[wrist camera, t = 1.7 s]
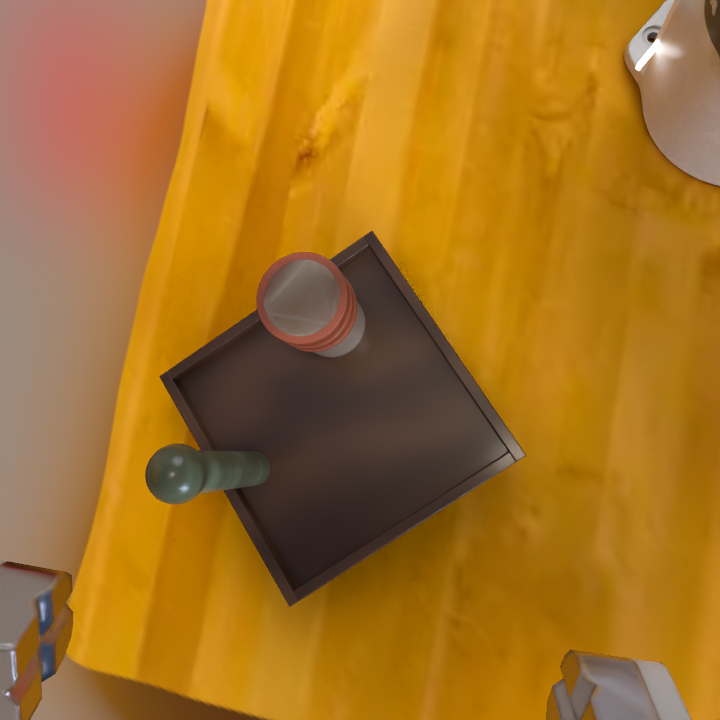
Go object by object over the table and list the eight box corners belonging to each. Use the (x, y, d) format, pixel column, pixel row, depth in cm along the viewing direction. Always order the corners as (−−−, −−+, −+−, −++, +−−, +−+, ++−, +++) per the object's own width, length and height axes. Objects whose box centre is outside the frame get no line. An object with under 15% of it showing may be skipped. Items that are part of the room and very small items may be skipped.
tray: (524, 455, 48) (544, 456, 33) (296, 601, 50) (214, 667, 34) (376, 238, 52) (332, 150, 37) (170, 379, 54) (47, 350, 39)
